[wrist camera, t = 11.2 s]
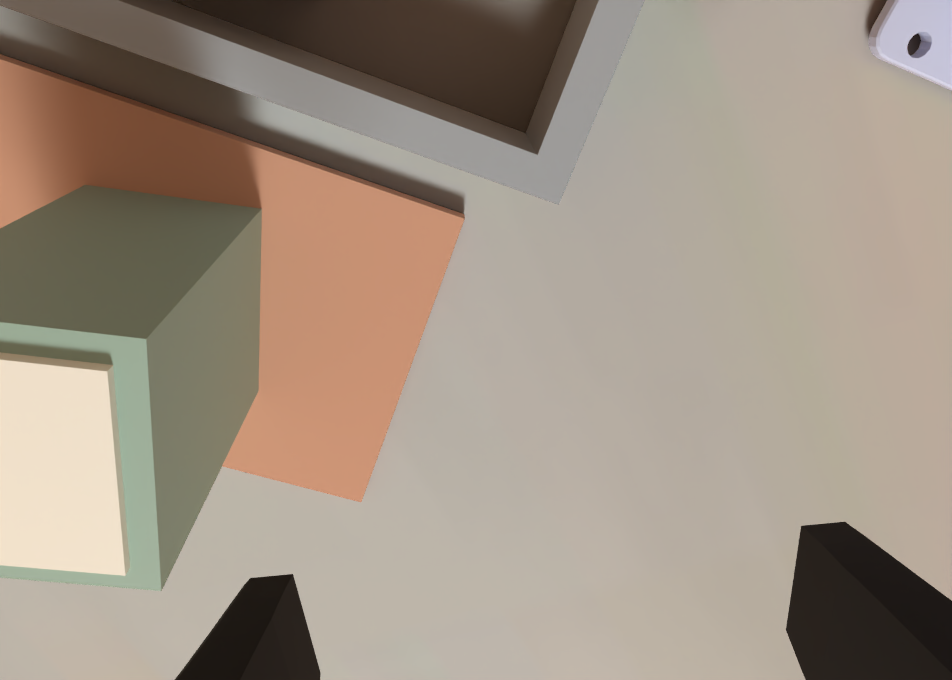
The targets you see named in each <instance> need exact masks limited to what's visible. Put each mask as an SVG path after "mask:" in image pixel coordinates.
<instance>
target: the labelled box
mask: <svg viewBox="0 0 952 680" xmlns="http://www.w3.org/2000/svg"><path fill="white" fill-rule="evenodd" d="M261 228H262V209H260V208H253V207H246V206H238V205H231V204H223V203H216V202H209V201H201V200H194V199H187V198H179V197H172V196H164V195H157V194H150V193H142V192H135V191H128V190H120V189H113V188H105V187H98V186H91V185H84V186H82V187H80V188H78V189H76V190H74V191H72V192H70V193H68V194H66V195H64V196H62V197H60V198H58V199H56V200H54V201H53V202H51V203H49V204H47V205H45V206H43V207H41V208H39V209H37V210H35V211H33V212H31V213H29V214H27V215H25V216H23V217H21V218H20V219H18V220H16V221H14V222H12V223H10V224H8V225H6V226H4V227H2V228H0V578H11V579H23V580H35V581H47V582H59V583H71V584H83V585H96V586H108V587H120V588H132V589H144V590H156V591H162V589H163V587H164V585H165V582H166V580H167V578H168V576H169V574H170V572H171V570H172V568H173V566H174V564H175V562H176V560H177V558H178V556H179V554H180V552H181V549H182V547H183V545H184V543H185V541H186V539H187V537H188V535H189V533H190V531H191V529H192V527H193V525H194V523H195V521H196V519H197V516H198V514H199V512H200V510H201V508H202V506H203V504H204V502H205V500H206V498H207V496H208V494H209V492H210V490H211V488H212V486H213V484H214V481H215V479H216V477H217V475H218V473H219V471H220V469H221V467H222V465H223V463H224V461H225V459H226V457H227V455H228V453H229V451H230V448H231V446H232V444H233V442H234V440H235V438H236V436H237V434H238V432H239V430H240V428H241V426H242V424H243V422H244V420H245V418H246V416H247V413H248V411H249V409H250V407H251V405H252V403H253V401H254V399H255V397H256V395H257V393H258V391H259V337H260V283H261Z"/></svg>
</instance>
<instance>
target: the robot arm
mask: <svg viewBox="0 0 952 680" xmlns="http://www.w3.org/2000/svg"><path fill="white" fill-rule="evenodd" d="M917 33H918V34H919V35H920V38H921V43H920V46H919V49H918V50H917V51H916V52H915V53H914V54H912V55H909V54H908V50H907V46H908V43H909V40H910V39H911V38H912V37H913V36H914V35H915V34H917ZM869 48H870V50H871V52H872V54H873V55H874V56H876V57H877V58H878V59H880V60H883V61H885V62H887V63H890V64H892V65H894V66H896V67H899V68H901V69H903V70H906V71H908V72H910V73H912V74H915V75H917V76H919V77H922V78H924V79H926V80H928V81H931V82H933V83H935V84H938V85H940V86H942V87H944V88H947V89H949V90H951V91H952V0H887V2H886V3H885V5H884V7H883V9H882V11H881V12H880V14H879V16H878V18H877V20H876V21H875V23H874V25H873V27H872V29H871V32H870V35H869ZM786 631H787V633H788V636H789V639H790V641H791V644H792V646H793V649H794V651H795V654H796V657H797V659H798V662H799V664H800V667H801V669H802V672H803V674H804V677H805V679H806V680H952V601H951V600H950V599H949V598H947V597H946V596H944V595H943V594H942V593H940V592H939V591H938V590H936V589H935V588H934V587H932V586H931V585H930V584H928V583H927V582H926V581H924V580H923V579H922V578H920V577H919V576H918V575H916V574H915V573H914V572H912V571H911V570H909V569H908V568H907V567H905V566H904V565H903V564H901V563H900V562H899V561H897V560H896V559H895V558H893V557H892V556H891V555H889V554H888V553H887V552H885V551H884V550H883V549H881V548H880V547H879V546H877V545H876V544H875V543H873V542H872V541H871V540H869V539H868V538H867V537H865V536H864V535H863V534H861V533H860V532H858V531H857V530H856V529H854V528H853V527H851V526H850V525H849V524H847V523H846V522H838V523H827V524H817V525H806V526H801V532H800V538H799V545H798V552H797V559H796V566H795V572H794V579H793V586H792V593H791V600H790V607H789V613H788V620H787V627H786ZM175 680H320V670H319V666H318V663H317V659H316V655H315V652H314V648H313V645H312V641H311V637H310V634H309V630H308V627H307V623H306V620H305V616H304V612H303V609H302V605H301V602H300V598H299V594H298V591H297V587H296V584H295V580H294V577H293V574H290V575H279V576H269V577H258V578H250V579H249V580H248V582H247V583H246V584H245V585H244V586H243V588H242V589H241V590H240V592H239V593H238V594H237V596H236V597H235V599H234V600H233V601H232V603H231V604H230V605H229V607H228V608H227V610H226V611H225V612H224V614H223V615H222V617H221V618H220V619H219V621H218V622H217V623H216V625H215V626H214V628H213V629H212V630H211V632H210V633H209V635H208V636H207V637H206V639H205V640H204V641H203V643H202V644H201V645H200V647H199V648H198V650H197V651H196V652H195V654H194V655H193V656H192V658H191V659H190V660H189V662H188V663H187V664H186V666H185V667H184V669H183V670H182V671H181V672H180V674H179V675H178V676H177V678H176V679H175Z"/></svg>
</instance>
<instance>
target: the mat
mask: <svg viewBox="0 0 952 680" xmlns="http://www.w3.org/2000/svg"><path fill="white" fill-rule="evenodd" d="M84 185H91V186H98V187H105V188H113V189H120V190H128V191H135V192H142V193H150V194H157V195H164V196H172V197H179V198H187V199H194V200H201V201H209V202H216V203H223V204H231V205H238V206H246V207H253V208H260V209H262V228H261V283H260V337H259V391H258V393H257V395H256V397H255V399H254V401H253V403H252V405H251V407H250V409H249V411H248V413H247V416H246V418H245V420H244V422H243V424H242V426H241V428H240V430H239V432H238V434H237V436H236V438H235V440H234V442H233V444H232V446H231V448H230V451H229V453H228V455H227V457H226V459H225V461H224V463H223V465H222V466H223V467H227V468H231V469H235V470H239V471H243V472H246V473H250V474H254V475H258V476H262V477H266V478H270V479H273V480H277V481H281V482H285V483H289V484H293V485H297V486H300V487H304V488H308V489H312V490H316V491H320V492H324V493H327V494H331V495H335V496H339V497H343V498H347V499H351V500H354V501H358V502H361V501H362V499H363V496H364V493H365V490H366V488H367V485H368V482H369V479H370V477H371V474H372V471H373V468H374V466H375V463H376V460H377V457H378V455H379V452H380V449H381V447H382V444H383V441H384V438H385V436H386V433H387V430H388V427H389V425H390V422H391V419H392V416H393V414H394V411H395V408H396V405H397V403H398V400H399V397H400V394H401V392H402V389H403V386H404V384H405V381H406V378H407V375H408V373H409V370H410V367H411V364H412V362H413V359H414V356H415V353H416V351H417V348H418V345H419V342H420V340H421V337H422V334H423V332H424V329H425V326H426V323H427V321H428V318H429V315H430V312H431V310H432V307H433V304H434V301H435V299H436V296H437V293H438V290H439V288H440V285H441V282H442V279H443V277H444V274H445V271H446V269H447V266H448V263H449V260H450V258H451V255H452V252H453V249H454V247H455V244H456V241H457V238H458V236H459V233H460V230H461V227H462V225H463V222H464V219H465V217H464V214H462V213H459V212H456V211H453V210H450V209H448V208H445V207H442V206H439V205H436V204H433V203H430V202H427V201H424V200H422V199H419V198H416V197H413V196H410V195H407V194H404V193H401V192H398V191H395V190H393V189H390V188H387V187H384V186H381V185H378V184H375V183H372V182H369V181H366V180H364V179H361V178H358V177H355V176H352V175H349V174H346V173H343V172H340V171H338V170H335V169H332V168H329V167H326V166H323V165H320V164H317V163H314V162H311V161H309V160H306V159H303V158H300V157H297V156H294V155H291V154H288V153H285V152H283V151H280V150H277V149H274V148H271V147H268V146H265V145H262V144H259V143H256V142H254V141H251V140H248V139H245V138H242V137H239V136H236V135H233V134H230V133H228V132H225V131H222V130H219V129H216V128H213V127H210V126H207V125H204V124H201V123H199V122H196V121H193V120H190V119H187V118H184V117H181V116H178V115H175V114H172V113H170V112H167V111H164V110H161V109H158V108H155V107H152V106H149V105H146V104H144V103H141V102H138V101H135V100H132V99H129V98H126V97H123V96H120V95H117V94H115V93H112V92H109V91H106V90H103V89H100V88H97V87H94V86H91V85H89V84H86V83H83V82H80V81H77V80H74V79H71V78H68V77H65V76H62V75H60V74H57V73H54V72H51V71H48V70H45V69H42V68H39V67H36V66H34V65H31V64H28V63H25V62H22V61H19V60H16V59H13V58H10V57H7V56H5V55H2V54H0V228H2V227H4V226H6V225H8V224H10V223H12V222H14V221H16V220H18V219H20V218H21V217H23V216H25V215H27V214H29V213H31V212H33V211H35V210H37V209H39V208H41V207H43V206H45V205H47V204H49V203H51V202H53V201H54V200H56V199H58V198H60V197H62V196H64V195H66V194H68V193H70V192H72V191H74V190H76V189H78V188H80V187H82V186H84Z"/></svg>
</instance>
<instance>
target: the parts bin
mask: <svg viewBox="0 0 952 680" xmlns="http://www.w3.org/2000/svg"><path fill="white" fill-rule="evenodd" d="M644 1H645V0H576V3H575V5H574V8H573V11H572V13H571V16H570V18H569V21H568V24H567V26H566V29H565V32H564V34H563V37H562V39H561V42H560V45H559V47H558V50H557V52H556V55H555V58H554V60H553V63H552V66H551V68H550V71H549V73H548V76H547V79H546V81H545V84H544V86H543V89H542V92H541V94H540V97H539V99H538V102H537V105H536V107H535V110H534V113H533V115H532V118H531V120H530V123H529V126H528V128H527V131H526V133H524V132H521V131H518V130H516V129H513V128H510V127H508V126H505V125H502V124H499V123H497V122H494V121H491V120H489V119H486V118H483V117H481V116H478V115H475V114H473V113H470V112H467V111H465V110H462V109H459V108H457V107H454V106H451V105H449V104H446V103H443V102H441V101H438V100H435V99H433V98H430V97H427V96H425V95H422V94H419V93H417V92H414V91H411V90H408V89H406V88H403V87H400V86H398V85H395V84H392V83H390V82H387V81H384V80H382V79H379V78H376V77H374V76H371V75H368V74H366V73H363V72H360V71H358V70H355V69H352V68H350V67H347V66H344V65H342V64H339V63H336V62H334V61H331V60H328V59H326V58H323V57H320V56H318V55H315V54H312V53H309V52H307V51H304V50H301V49H299V48H296V47H293V46H291V45H288V44H285V43H283V42H280V41H277V40H275V39H272V38H269V37H267V36H264V35H261V34H259V33H256V32H253V31H251V30H248V29H245V28H243V27H240V26H237V25H235V24H232V23H229V22H227V21H224V20H221V19H219V18H216V17H213V16H210V15H208V14H205V13H202V12H200V11H197V10H194V9H192V8H189V7H186V6H184V5H181V4H178V3H176V2H173V1H170V0H0V5H1V6H3V7H6V8H9V9H12V10H15V11H17V12H20V13H23V14H26V15H29V16H31V17H34V18H37V19H40V20H43V21H45V22H48V23H51V24H54V25H57V26H59V27H62V28H65V29H68V30H71V31H73V32H76V33H79V34H82V35H85V36H87V37H90V38H93V39H96V40H99V41H101V42H104V43H107V44H110V45H113V46H115V47H118V48H121V49H124V50H127V51H129V52H132V53H135V54H138V55H141V56H143V57H146V58H149V59H152V60H155V61H157V62H160V63H163V64H166V65H169V66H171V67H174V68H177V69H180V70H183V71H185V72H188V73H191V74H194V75H197V76H199V77H202V78H205V79H208V80H211V81H213V82H216V83H219V84H222V85H225V86H227V87H230V88H233V89H236V90H239V91H241V92H244V93H247V94H250V95H253V96H255V97H258V98H261V99H264V100H267V101H269V102H272V103H275V104H278V105H281V106H283V107H286V108H289V109H292V110H295V111H297V112H300V113H303V114H306V115H309V116H311V117H314V118H317V119H320V120H323V121H325V122H328V123H331V124H334V125H337V126H339V127H342V128H345V129H348V130H351V131H353V132H356V133H359V134H362V135H365V136H367V137H370V138H373V139H376V140H379V141H381V142H384V143H387V144H390V145H393V146H395V147H398V148H401V149H404V150H407V151H409V152H412V153H415V154H418V155H421V156H423V157H426V158H429V159H432V160H435V161H437V162H440V163H443V164H446V165H449V166H451V167H454V168H457V169H460V170H463V171H465V172H468V173H471V174H474V175H477V176H479V177H482V178H485V179H488V180H491V181H493V182H496V183H499V184H502V185H505V186H507V187H510V188H513V189H516V190H519V191H521V192H524V193H527V194H530V195H533V196H535V197H538V198H541V199H544V200H547V201H549V202H552V203H555V204H558V205H559V203H560V201H561V198H562V196H563V193H564V191H565V189H566V186H567V184H568V182H569V179H570V177H571V174H572V172H573V170H574V167H575V165H576V162H577V160H578V158H579V155H580V153H581V151H582V148H583V146H584V143H585V141H586V139H587V136H588V134H589V132H590V129H591V127H592V124H593V122H594V120H595V117H596V115H597V113H598V110H599V108H600V105H601V103H602V101H603V98H604V96H605V94H606V91H607V89H608V86H609V84H610V82H611V79H612V77H613V75H614V72H615V70H616V67H617V65H618V63H619V60H620V58H621V55H622V53H623V51H624V48H625V46H626V44H627V41H628V39H629V36H630V34H631V32H632V29H633V27H634V25H635V22H636V20H637V17H638V15H639V13H640V10H641V8H642V6H643V3H644Z"/></svg>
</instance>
